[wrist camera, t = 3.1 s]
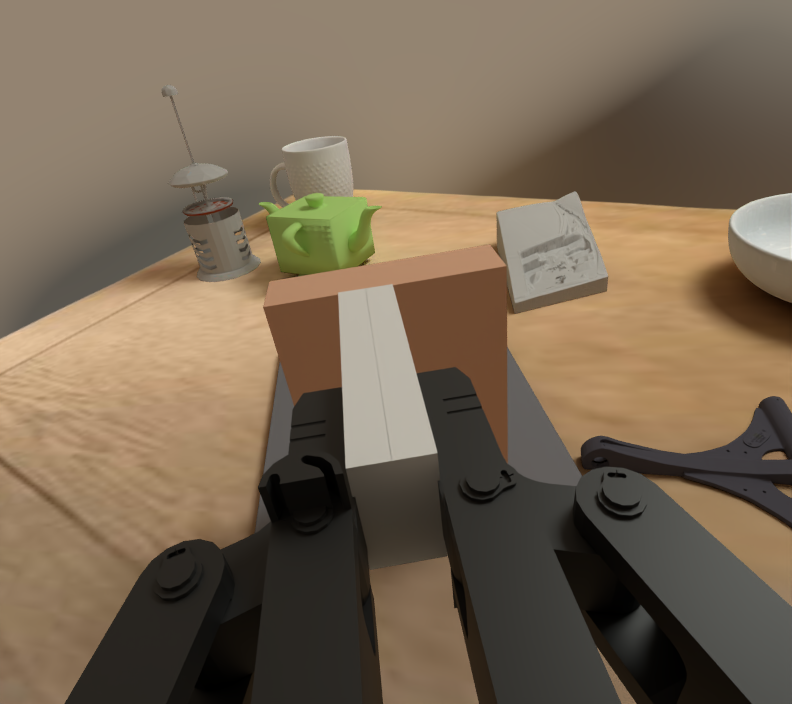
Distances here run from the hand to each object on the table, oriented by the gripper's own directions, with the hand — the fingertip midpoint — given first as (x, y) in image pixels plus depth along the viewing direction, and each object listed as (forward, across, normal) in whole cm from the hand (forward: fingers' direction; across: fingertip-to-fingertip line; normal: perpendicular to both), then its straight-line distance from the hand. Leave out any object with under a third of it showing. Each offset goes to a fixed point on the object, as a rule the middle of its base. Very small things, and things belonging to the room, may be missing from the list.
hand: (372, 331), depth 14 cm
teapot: (+54, -5, -20) cm, 58 cm away
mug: (+77, -6, -20) cm, 80 cm away
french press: (+62, -21, -21) cm, 69 cm away
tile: (+11, +1, -19) cm, 22 cm away
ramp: (+45, +23, -20) cm, 55 cm away
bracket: (+9, +20, -21) cm, 30 cm away
